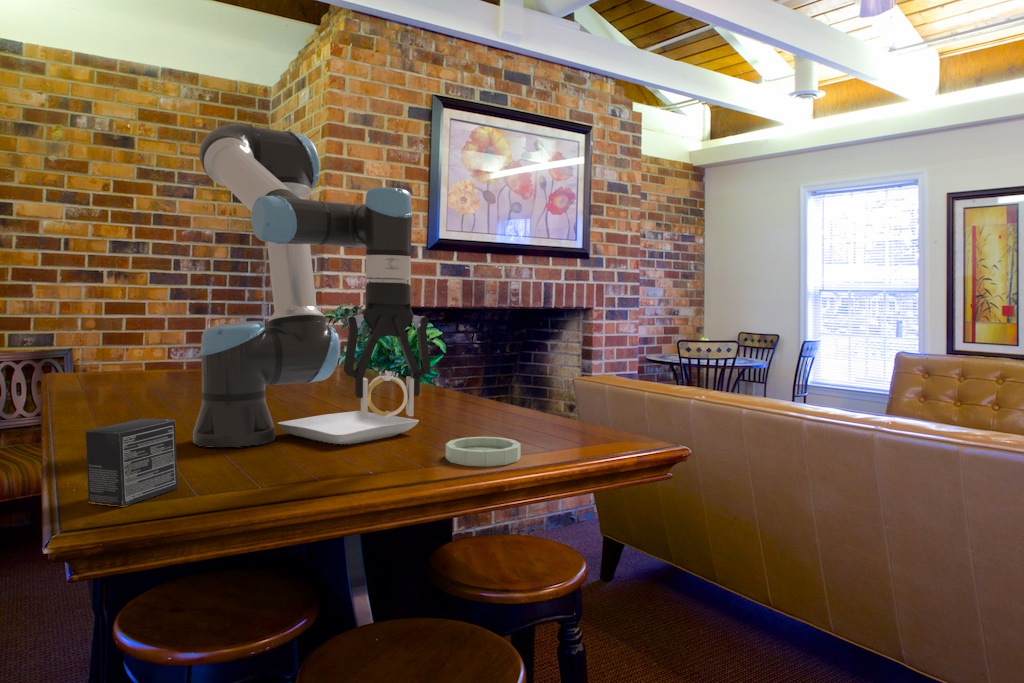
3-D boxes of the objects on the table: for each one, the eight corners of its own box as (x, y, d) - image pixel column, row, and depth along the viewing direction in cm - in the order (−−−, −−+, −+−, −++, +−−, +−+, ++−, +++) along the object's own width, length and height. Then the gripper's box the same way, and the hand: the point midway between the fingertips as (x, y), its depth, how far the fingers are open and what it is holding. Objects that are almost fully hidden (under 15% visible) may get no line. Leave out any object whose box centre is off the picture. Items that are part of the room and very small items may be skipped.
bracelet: (408, 415, 126) (408, 370, 125) (406, 419, 123) (407, 372, 122) (367, 415, 126) (368, 369, 125) (365, 418, 123) (365, 371, 122)
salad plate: (274, 437, 149) (274, 420, 149) (357, 423, 165) (357, 408, 165) (338, 452, 136) (337, 433, 135) (421, 436, 152) (421, 419, 152)
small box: (144, 485, 110) (142, 416, 109) (179, 489, 108) (178, 419, 107) (84, 504, 100) (82, 428, 99) (123, 508, 98) (121, 431, 97)
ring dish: (458, 468, 122) (458, 453, 122) (438, 452, 134) (438, 439, 134) (530, 463, 126) (530, 448, 126) (505, 448, 139) (505, 435, 138)
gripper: (330, 280, 115) (329, 422, 117) (451, 282, 122) (449, 417, 124) (325, 280, 122) (324, 414, 124) (440, 282, 129) (438, 409, 131)
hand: (387, 415), depth 124 cm, fingers closed on bracelet, 7 cm apart
